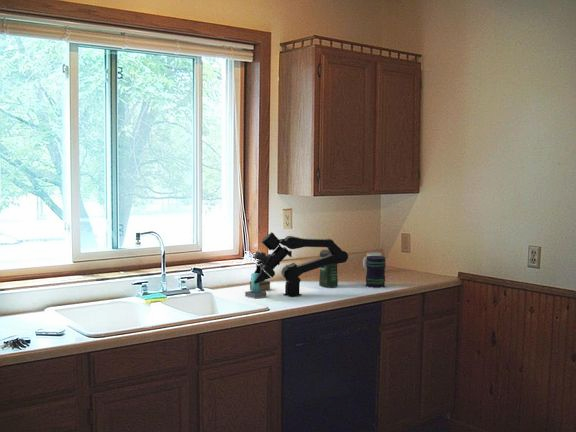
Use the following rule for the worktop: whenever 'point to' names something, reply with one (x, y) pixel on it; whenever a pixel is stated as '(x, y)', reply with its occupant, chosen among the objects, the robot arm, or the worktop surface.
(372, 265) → the storage jar
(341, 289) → the worktop surface
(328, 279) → the coffee jar
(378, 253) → the mug
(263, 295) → the lower dock
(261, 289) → the upper stand
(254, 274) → the dowel plug
